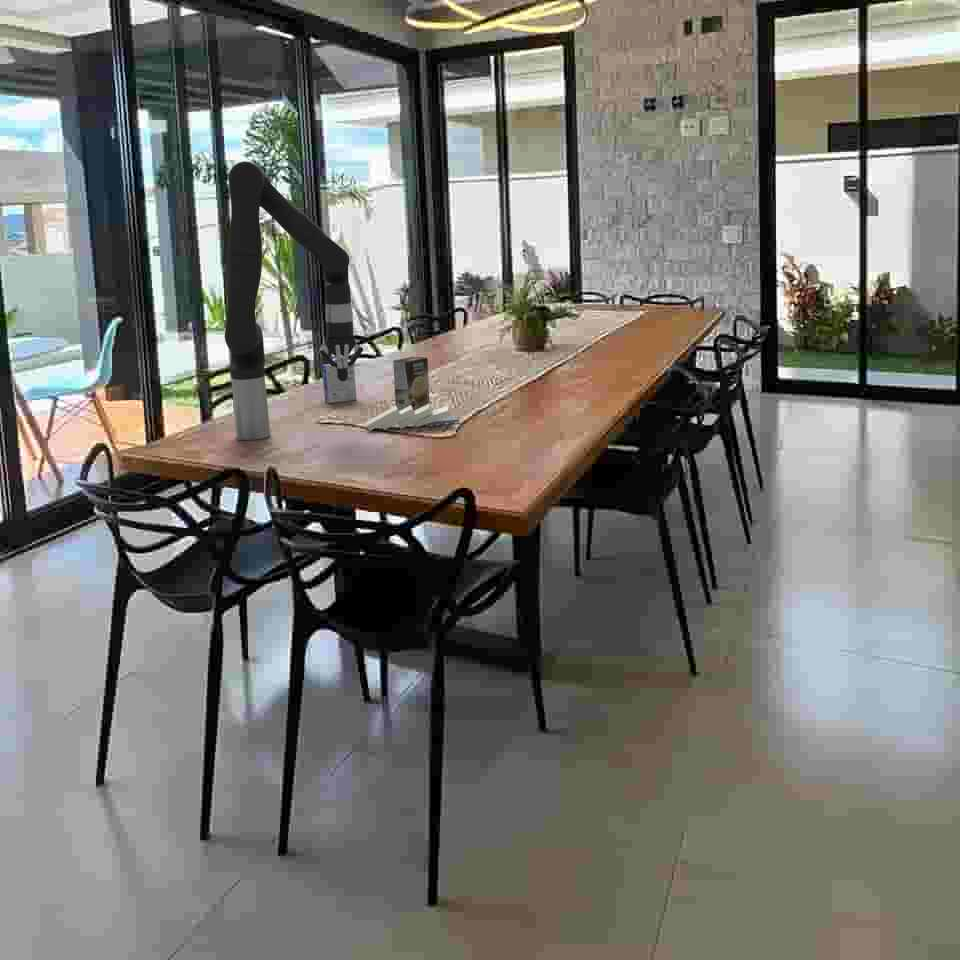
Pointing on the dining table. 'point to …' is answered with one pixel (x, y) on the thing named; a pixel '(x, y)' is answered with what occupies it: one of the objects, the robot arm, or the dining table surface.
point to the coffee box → (411, 382)
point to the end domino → (444, 421)
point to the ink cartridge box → (338, 384)
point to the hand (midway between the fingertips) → (342, 380)
